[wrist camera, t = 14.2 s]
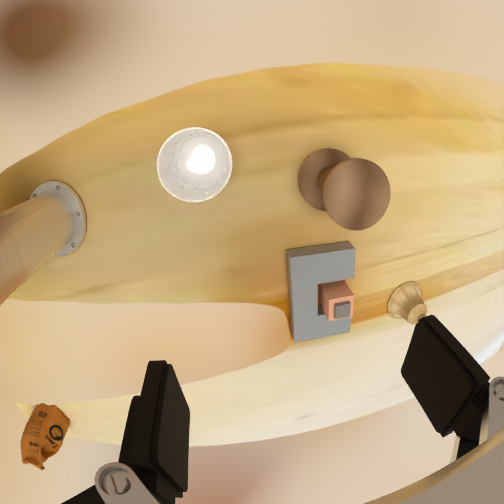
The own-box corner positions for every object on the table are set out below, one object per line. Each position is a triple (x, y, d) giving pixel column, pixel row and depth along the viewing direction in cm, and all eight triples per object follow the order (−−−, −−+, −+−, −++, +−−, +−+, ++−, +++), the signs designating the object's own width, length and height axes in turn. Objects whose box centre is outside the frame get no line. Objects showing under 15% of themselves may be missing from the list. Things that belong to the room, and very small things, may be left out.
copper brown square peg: (318, 280, 45) (330, 302, 39) (341, 276, 45) (356, 297, 39) (318, 300, 47) (329, 324, 41) (340, 296, 47) (354, 319, 41)
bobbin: (300, 212, 40) (322, 239, 30) (295, 150, 37) (318, 156, 27) (356, 206, 41) (392, 229, 31) (354, 147, 37) (393, 153, 27)
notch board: (286, 249, 43) (289, 257, 40) (348, 241, 43) (355, 248, 40) (291, 331, 49) (294, 342, 46) (344, 322, 49) (349, 332, 46)
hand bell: (406, 274, 46) (456, 323, 32) (427, 291, 48) (473, 338, 34) (379, 308, 49) (419, 364, 34) (402, 322, 51) (440, 374, 36)
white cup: (172, 134, 35) (152, 133, 26) (229, 126, 35) (229, 122, 26) (178, 189, 38) (162, 206, 29) (234, 183, 38) (235, 198, 29)
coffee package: (75, 423, 61) (56, 479, 41) (51, 420, 61) (31, 470, 41) (56, 403, 57) (32, 461, 37) (32, 401, 57) (9, 452, 37)
